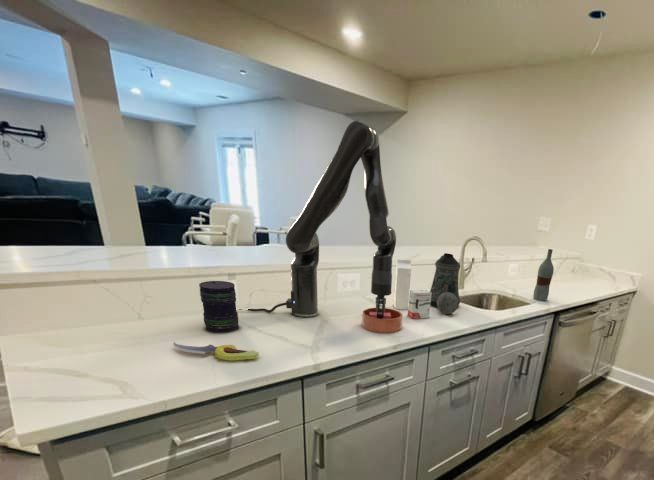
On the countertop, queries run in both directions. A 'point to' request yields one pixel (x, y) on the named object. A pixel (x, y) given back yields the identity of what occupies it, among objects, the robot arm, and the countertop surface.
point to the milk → (402, 284)
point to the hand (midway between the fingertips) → (379, 324)
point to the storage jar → (219, 306)
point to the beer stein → (445, 278)
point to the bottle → (544, 278)
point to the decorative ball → (447, 303)
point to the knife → (220, 351)
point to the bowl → (382, 321)
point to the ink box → (419, 303)
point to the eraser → (374, 314)
